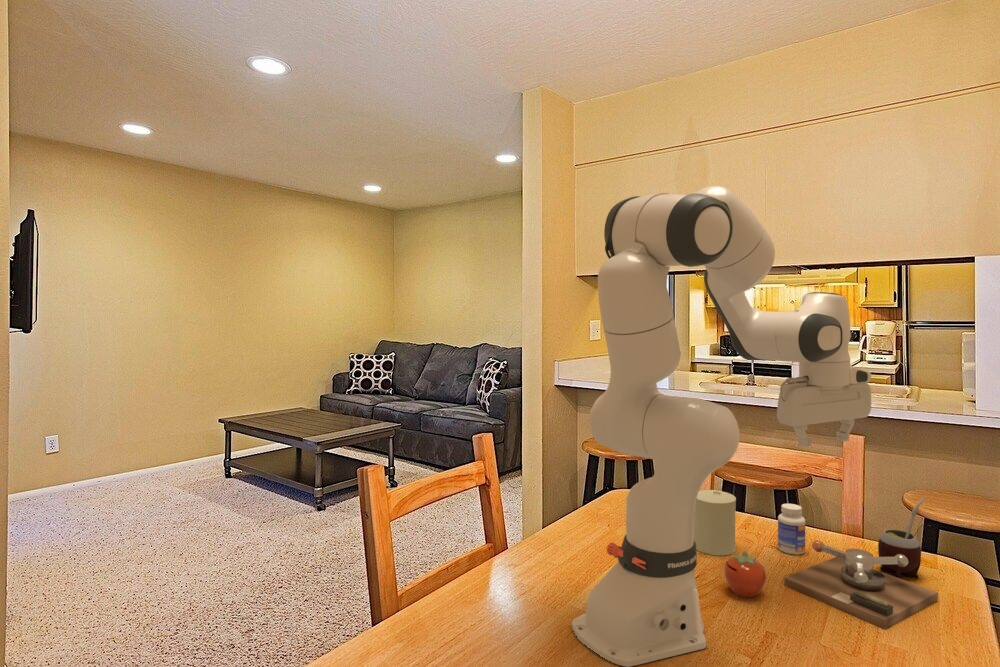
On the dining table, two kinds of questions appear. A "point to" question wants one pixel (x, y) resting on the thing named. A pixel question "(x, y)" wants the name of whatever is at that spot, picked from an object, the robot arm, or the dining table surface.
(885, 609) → the stand board
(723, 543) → the can
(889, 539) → the mate gourd
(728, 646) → the dining table surface
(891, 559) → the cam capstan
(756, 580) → the tomato
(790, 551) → the pill bottle
